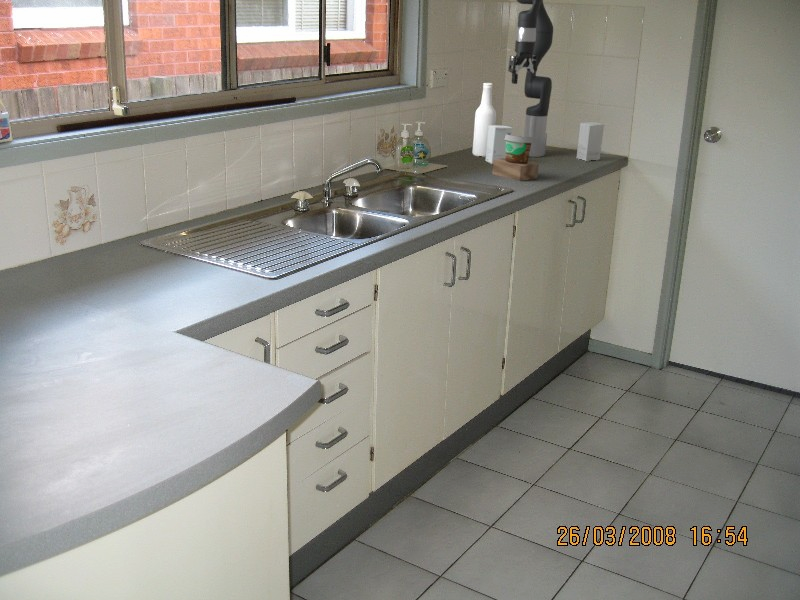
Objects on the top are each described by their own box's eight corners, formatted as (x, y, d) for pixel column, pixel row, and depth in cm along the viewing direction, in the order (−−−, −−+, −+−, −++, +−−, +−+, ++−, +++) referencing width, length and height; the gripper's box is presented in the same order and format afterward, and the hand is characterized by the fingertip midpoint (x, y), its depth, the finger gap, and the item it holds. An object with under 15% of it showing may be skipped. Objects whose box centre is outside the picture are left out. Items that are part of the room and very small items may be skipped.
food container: (495, 159, 335) (498, 133, 332) (506, 158, 339) (509, 132, 336) (519, 164, 326) (522, 137, 323) (530, 164, 330) (533, 137, 327)
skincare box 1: (491, 164, 356) (494, 127, 351) (484, 161, 362) (487, 125, 357) (509, 163, 360) (512, 127, 355) (502, 160, 365) (505, 124, 360)
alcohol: (481, 152, 380) (486, 81, 370) (497, 155, 374) (503, 84, 364) (468, 154, 374) (473, 82, 364) (484, 157, 368) (489, 85, 358)
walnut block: (509, 172, 344) (511, 157, 342) (537, 179, 334) (538, 163, 332) (492, 175, 338) (493, 159, 336) (519, 181, 328) (520, 166, 326)
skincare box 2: (590, 157, 380) (594, 121, 374) (600, 160, 374) (605, 124, 369) (575, 159, 376) (579, 122, 370) (585, 161, 370) (590, 124, 365)
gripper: (530, 39, 342) (526, 81, 347) (505, 39, 333) (502, 82, 338) (545, 40, 337) (540, 83, 342) (520, 40, 328) (516, 85, 333)
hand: (521, 83), depth 340 cm, fingers open, 8 cm apart
